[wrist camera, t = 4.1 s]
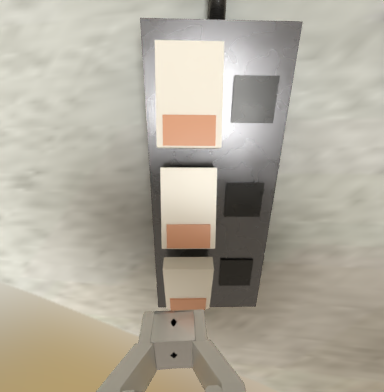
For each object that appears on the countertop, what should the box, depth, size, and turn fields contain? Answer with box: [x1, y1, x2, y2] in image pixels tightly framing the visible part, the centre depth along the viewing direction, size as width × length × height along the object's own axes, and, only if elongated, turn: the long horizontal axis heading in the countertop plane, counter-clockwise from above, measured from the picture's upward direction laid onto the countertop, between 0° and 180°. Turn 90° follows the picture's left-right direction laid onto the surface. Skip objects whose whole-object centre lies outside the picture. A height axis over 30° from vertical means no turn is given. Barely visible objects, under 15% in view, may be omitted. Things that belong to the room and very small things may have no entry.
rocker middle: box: [160, 167, 217, 249], centre depth 17 cm, size 4×6×1 cm, turn 179°
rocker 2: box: [163, 257, 214, 311], centre depth 19 cm, size 4×6×1 cm, turn 179°
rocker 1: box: [155, 40, 224, 149], centre depth 14 cm, size 4×6×1 cm, turn 179°
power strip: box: [140, 0, 302, 307], centre depth 19 cm, size 10×30×5 cm, turn 179°
